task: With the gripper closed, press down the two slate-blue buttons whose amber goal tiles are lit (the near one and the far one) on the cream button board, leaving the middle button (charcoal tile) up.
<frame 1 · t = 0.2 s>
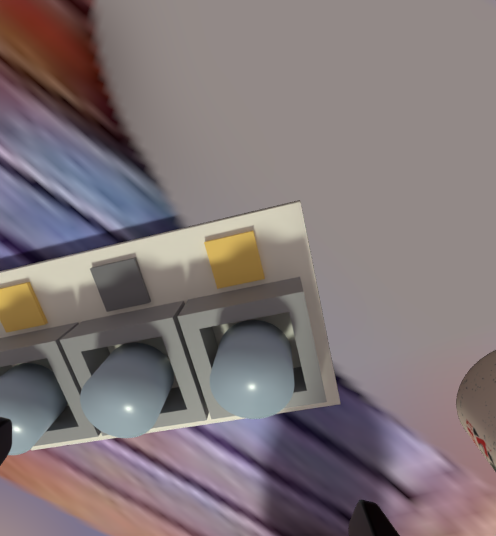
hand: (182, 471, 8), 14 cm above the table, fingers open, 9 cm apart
button 1: (253, 367, 19), point 4 cm above the table, slide at 0.0 cm
button 2: (130, 388, 20), point 4 cm above the table, slide at 0.0 cm
board: (148, 339, 23), on the table
button 3: (19, 407, 21), point 4 cm above the table, slide at 0.0 cm
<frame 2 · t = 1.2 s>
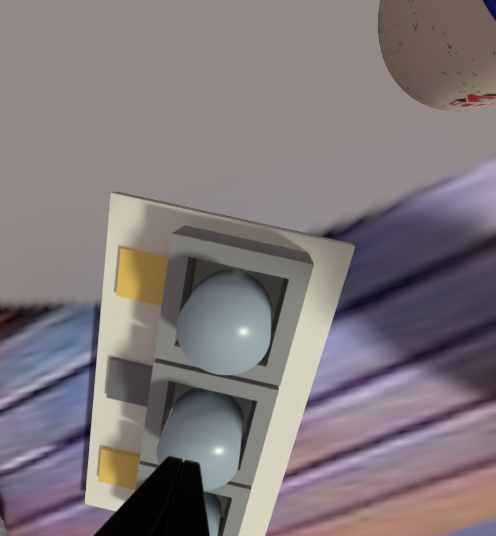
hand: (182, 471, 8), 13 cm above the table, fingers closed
button 1: (227, 319, 17), point 4 cm above the table, slide at 0.0 cm
button 2: (203, 436, 19), point 4 cm above the table, slide at 0.0 cm
board: (200, 388, 23), on the table
button 3: (183, 528, 21), point 4 cm above the table, slide at 0.0 cm
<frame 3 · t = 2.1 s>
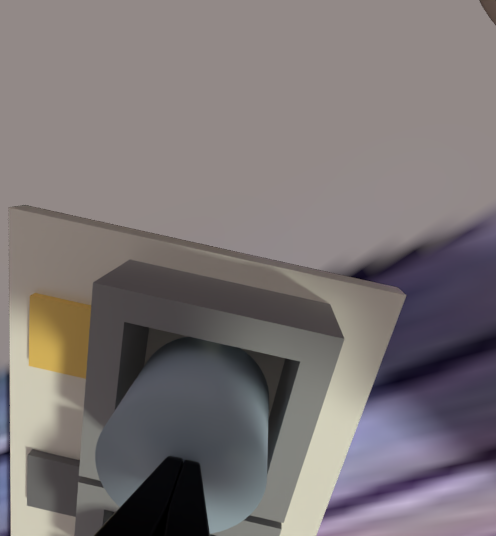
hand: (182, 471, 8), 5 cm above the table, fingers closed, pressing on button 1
button 1: (193, 427, 10), point 4 cm above the table, slide at 0.2 cm, touching gripper
board: (166, 488, 16), on the table
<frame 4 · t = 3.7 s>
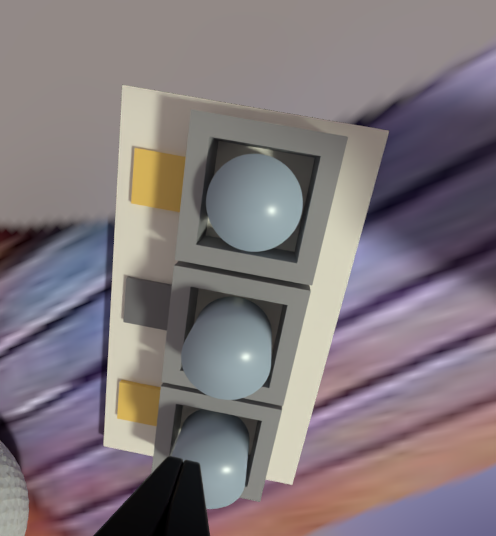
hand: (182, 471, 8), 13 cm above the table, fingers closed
button 1: (255, 201, 17), point 3 cm above the table, slide at 1.2 cm
button 2: (229, 345, 18), point 4 cm above the table, slide at 0.0 cm
board: (222, 311, 21), on the table
button 3: (210, 456, 20), point 4 cm above the table, slide at 0.0 cm
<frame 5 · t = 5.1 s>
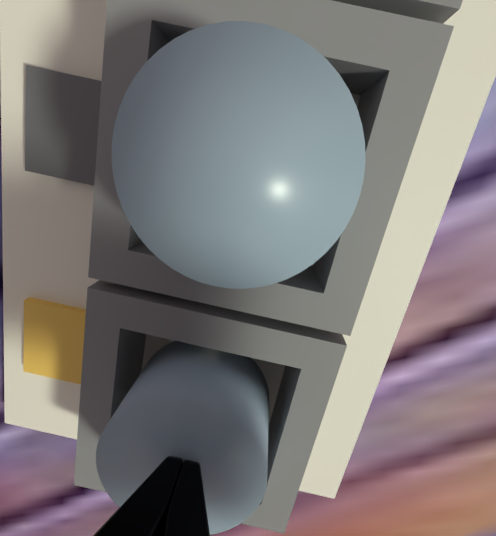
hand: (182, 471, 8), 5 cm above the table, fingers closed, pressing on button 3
button 2: (242, 169, 7), point 4 cm above the table, slide at 0.0 cm
board: (224, 162, 11), on the table
button 3: (193, 428, 10), point 4 cm above the table, slide at 0.5 cm, touching gripper
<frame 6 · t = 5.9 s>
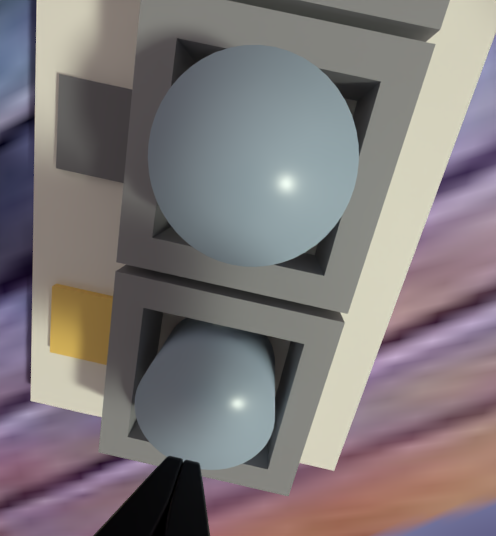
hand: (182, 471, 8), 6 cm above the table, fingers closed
button 2: (254, 166, 8), point 4 cm above the table, slide at 0.0 cm
board: (234, 161, 12), on the table
button 3: (212, 384, 12), point 3 cm above the table, slide at 1.2 cm
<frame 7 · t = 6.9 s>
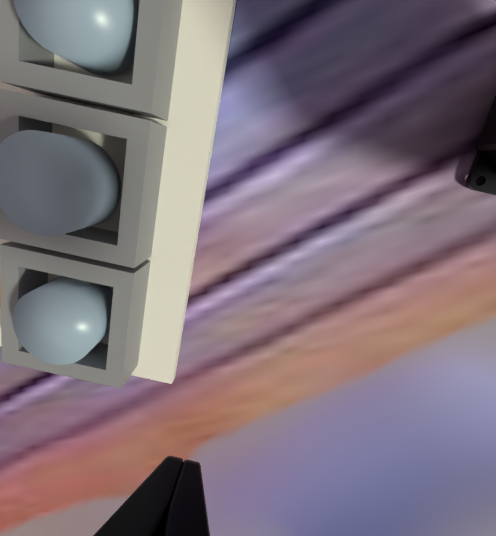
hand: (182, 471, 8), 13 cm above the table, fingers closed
button 1: (85, 10, 15), point 3 cm above the table, slide at 1.2 cm
button 2: (61, 184, 16), point 4 cm above the table, slide at 0.0 cm
board: (86, 177, 19), on the table
button 3: (69, 316, 19), point 3 cm above the table, slide at 1.2 cm
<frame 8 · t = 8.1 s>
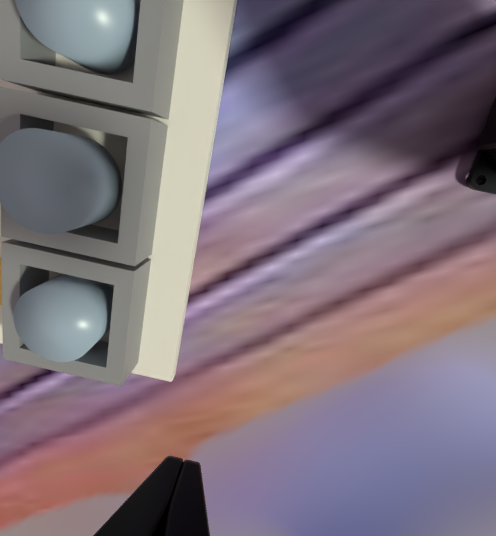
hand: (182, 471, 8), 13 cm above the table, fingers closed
button 1: (86, 9, 15), point 3 cm above the table, slide at 1.2 cm
button 2: (62, 182, 16), point 4 cm above the table, slide at 0.0 cm
board: (87, 175, 20), on the table
button 3: (70, 313, 19), point 3 cm above the table, slide at 1.2 cm
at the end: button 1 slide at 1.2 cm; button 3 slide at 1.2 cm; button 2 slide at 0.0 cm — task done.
